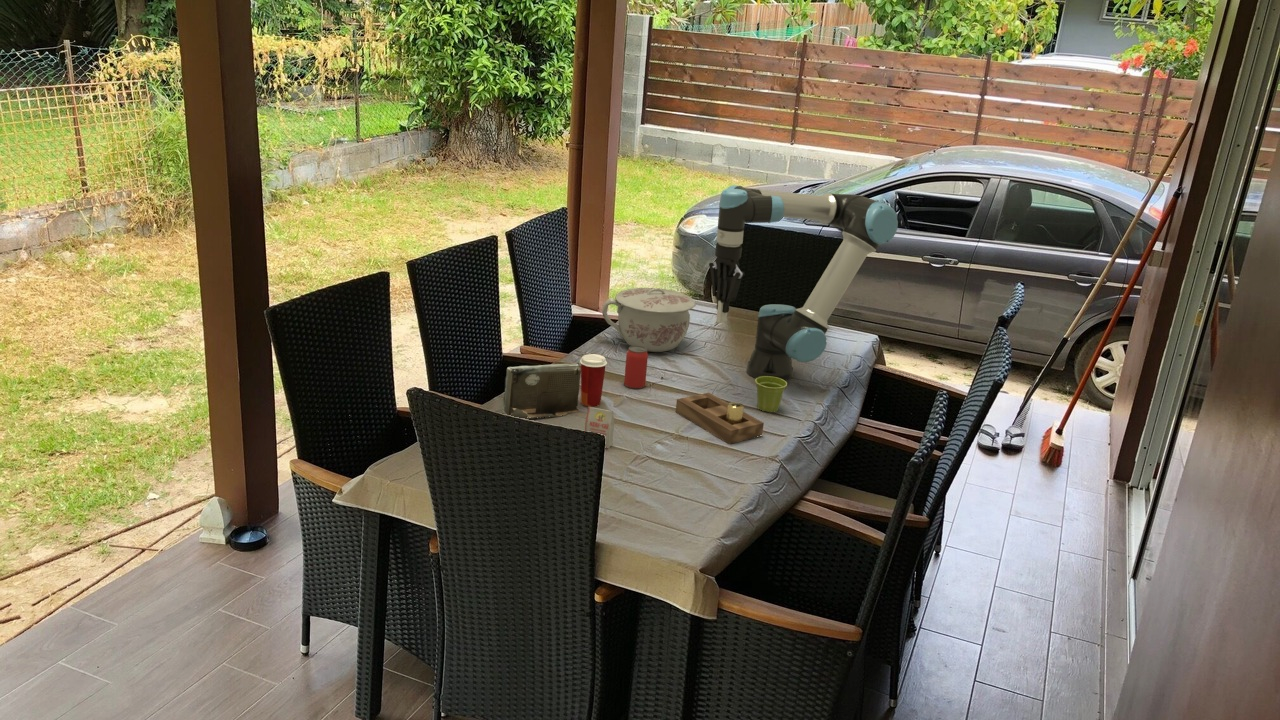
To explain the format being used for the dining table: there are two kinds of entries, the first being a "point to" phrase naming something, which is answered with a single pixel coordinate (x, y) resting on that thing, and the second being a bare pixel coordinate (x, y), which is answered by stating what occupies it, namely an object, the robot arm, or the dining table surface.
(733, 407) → the brass bushing
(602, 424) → the tea bag
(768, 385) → the plant pot
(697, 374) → the dining table surface
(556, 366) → the radio
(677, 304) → the chamber pot
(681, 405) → the frame
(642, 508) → the dining table surface
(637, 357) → the beer can
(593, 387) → the paper cup
